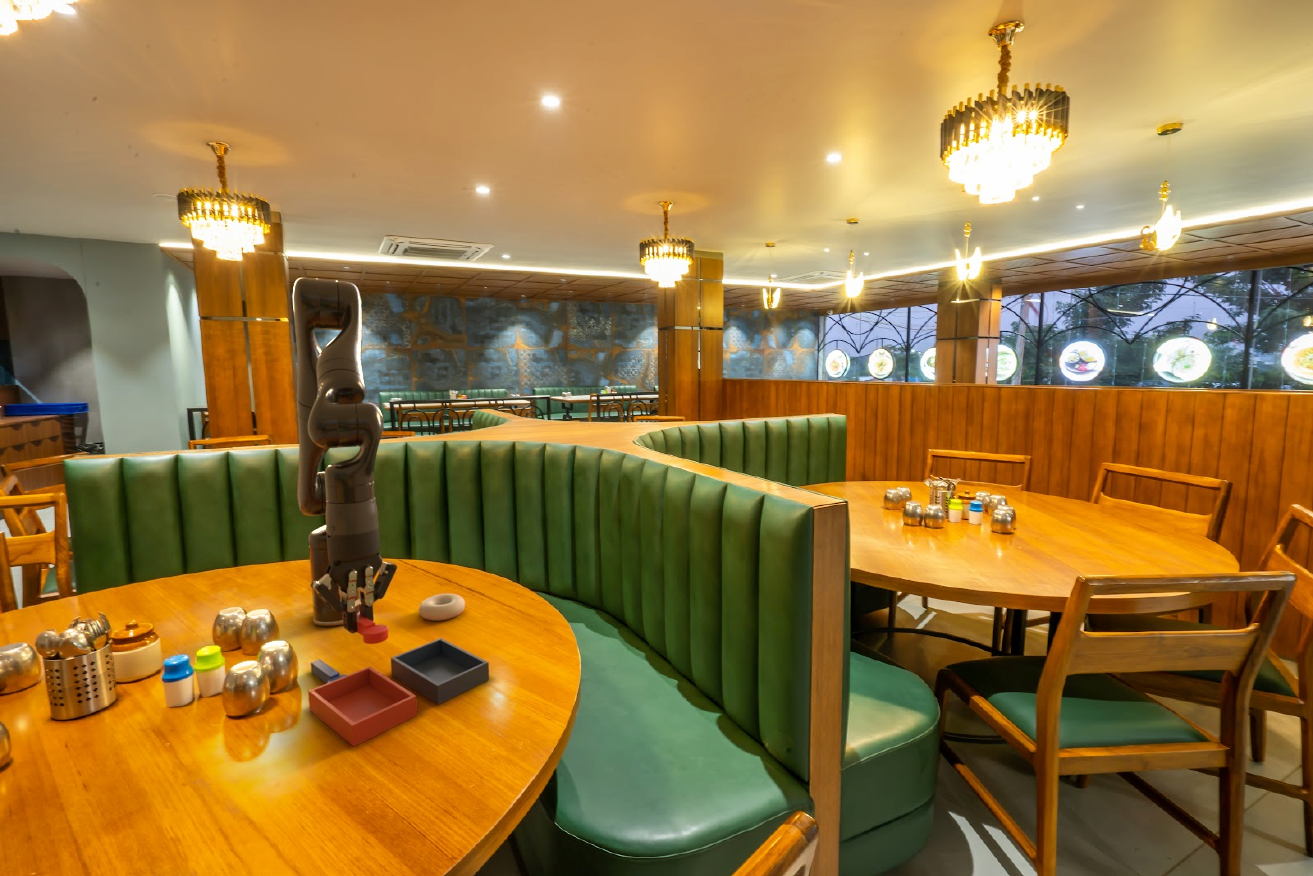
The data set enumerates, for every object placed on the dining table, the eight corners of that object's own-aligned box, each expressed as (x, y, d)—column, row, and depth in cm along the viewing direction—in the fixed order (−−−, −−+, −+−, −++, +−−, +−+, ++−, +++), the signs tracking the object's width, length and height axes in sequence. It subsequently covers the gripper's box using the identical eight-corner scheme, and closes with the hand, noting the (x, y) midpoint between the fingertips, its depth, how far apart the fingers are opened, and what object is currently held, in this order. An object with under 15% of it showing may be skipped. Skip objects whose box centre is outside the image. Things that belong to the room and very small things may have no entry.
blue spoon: (305, 675, 108) (304, 664, 108) (326, 667, 111) (325, 657, 111) (333, 696, 102) (332, 685, 101) (354, 687, 104) (354, 676, 104)
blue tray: (391, 675, 109) (390, 658, 108) (441, 654, 117) (441, 638, 116) (438, 705, 99) (437, 686, 99) (489, 680, 107) (488, 662, 107)
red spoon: (336, 626, 99) (335, 615, 98) (358, 619, 101) (357, 608, 101) (370, 646, 92) (369, 634, 91) (392, 638, 94) (392, 626, 94)
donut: (409, 621, 131) (450, 624, 129) (408, 606, 131) (450, 609, 129) (435, 604, 141) (473, 606, 139) (434, 590, 141) (473, 592, 139)
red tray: (309, 710, 98) (308, 690, 97) (370, 684, 106) (369, 666, 105) (353, 747, 88) (352, 725, 88) (417, 715, 96) (416, 696, 96)
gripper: (382, 514, 103) (387, 610, 105) (296, 531, 92) (304, 638, 94) (405, 521, 99) (410, 621, 101) (318, 540, 88) (325, 651, 90)
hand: (358, 629), depth 97 cm, fingers closed on red spoon, 1 cm apart
